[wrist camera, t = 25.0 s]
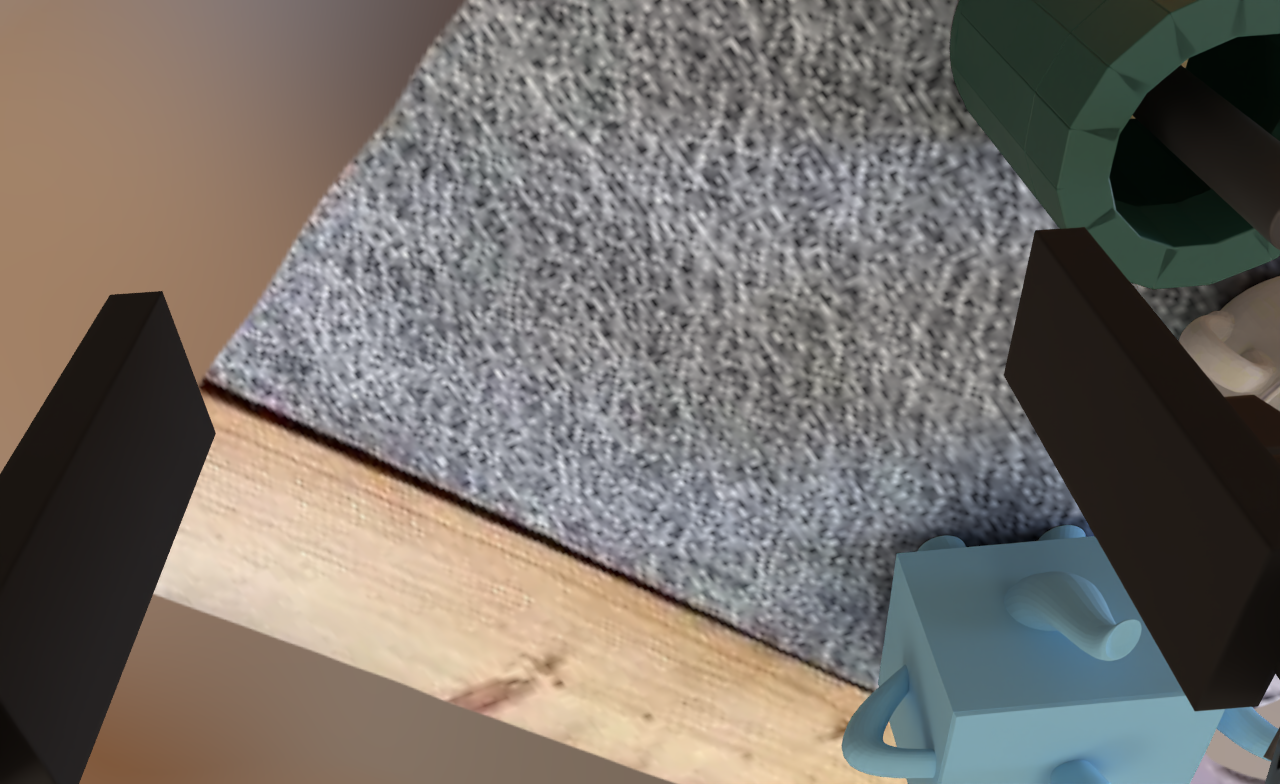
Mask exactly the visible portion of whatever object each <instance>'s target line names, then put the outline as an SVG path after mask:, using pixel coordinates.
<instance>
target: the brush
mask: <svg viewBox="0 0 1280 784" xmlns="http://www.w3.org/2000/svg"><path fill="white" fill-rule="evenodd" d="M1188 59H1189V58H1188ZM1188 59H1187V60H1186V61H1185V62H1184V63H1182V64H1181V65H1180V66H1179V67H1178V68H1176V69H1175V70H1174V71H1173V72H1172V73H1170V74H1169V75H1168V76H1167V77H1166V78H1164V79H1163V80H1162V81H1161V82H1160V83H1159V84H1157V85H1156V86H1155V87H1154V88H1153V89H1151V90H1150V91H1149V92H1148V93H1147V94H1146V95H1145V97H1144V98H1143V100H1142V101H1141V103H1140V104H1139V106H1138V107H1137V109H1136V110H1135V112H1134V113H1133V115H1132V117H1131V118H1130V119H1137V120H1138V121H1139V122H1140V123H1141V124H1142V125H1143V126H1145V127H1146V128H1147V129H1148V130H1149V131H1150V132H1151V133H1152V134H1153V135H1154V136H1155V137H1156V138H1158V139H1159V140H1160V141H1161V142H1162V143H1163V144H1164V145H1165V146H1166V147H1167V148H1168V149H1169V150H1170V151H1172V152H1173V153H1174V154H1175V155H1176V156H1177V157H1178V158H1179V159H1180V160H1181V161H1182V162H1183V163H1184V164H1186V165H1187V166H1188V167H1189V168H1190V169H1191V170H1192V171H1193V172H1194V173H1195V174H1196V175H1197V176H1199V177H1200V178H1201V179H1202V180H1203V181H1204V182H1205V183H1206V184H1207V185H1208V186H1209V187H1210V188H1211V189H1213V190H1214V191H1215V192H1216V193H1217V194H1218V195H1219V196H1220V197H1221V198H1222V199H1223V200H1224V201H1226V202H1227V203H1228V204H1229V205H1230V206H1231V207H1232V208H1233V209H1234V210H1235V211H1236V212H1237V213H1238V214H1240V215H1241V216H1242V217H1243V218H1244V219H1245V220H1246V221H1247V222H1248V223H1249V224H1250V225H1251V226H1253V227H1254V228H1255V229H1256V230H1257V231H1258V232H1259V233H1260V234H1261V235H1262V236H1263V237H1264V238H1265V239H1267V240H1268V241H1269V242H1270V243H1271V244H1272V245H1273V246H1274V247H1275V248H1277V249H1278V250H1280V141H1279V140H1277V139H1276V138H1275V137H1273V136H1272V135H1271V134H1270V133H1268V132H1267V131H1266V130H1264V129H1263V128H1262V127H1260V126H1259V125H1258V124H1257V123H1255V122H1254V121H1253V120H1251V119H1250V118H1249V117H1248V116H1246V115H1245V114H1244V113H1242V112H1241V111H1240V110H1239V109H1237V108H1236V107H1235V106H1233V105H1232V104H1231V103H1230V102H1228V101H1227V100H1226V99H1224V98H1223V97H1222V96H1220V95H1219V94H1218V93H1217V92H1215V91H1214V90H1213V89H1211V88H1210V87H1209V86H1208V85H1206V84H1205V83H1204V82H1202V81H1201V80H1200V79H1199V78H1197V77H1196V76H1195V75H1193V74H1192V73H1191V72H1190V71H1188V70H1187V69H1186V65H1187V62H1188Z"/></svg>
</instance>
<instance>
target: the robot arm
mask: <svg viewBox="0 0 1280 784" xmlns="http://www.w3.org/2000/svg"><path fill="white" fill-rule="evenodd" d="M1004 376H1005V378H1006V380H1007V382H1008V384H1009V385H1010V387H1011V389H1012V391H1013V392H1014V394H1015V396H1016V398H1017V399H1018V401H1019V403H1020V405H1021V406H1022V408H1023V410H1024V412H1025V413H1026V415H1027V417H1028V419H1029V421H1030V422H1031V424H1032V426H1033V428H1034V429H1035V431H1036V433H1037V435H1038V436H1039V438H1040V440H1041V442H1042V443H1043V445H1044V447H1045V449H1046V450H1047V452H1048V454H1049V456H1050V458H1051V459H1052V461H1053V463H1054V465H1055V466H1056V468H1057V470H1058V472H1059V473H1060V475H1061V477H1062V479H1063V480H1064V482H1065V484H1066V486H1067V487H1068V489H1069V491H1070V493H1071V495H1072V496H1073V498H1074V500H1075V502H1076V503H1077V505H1078V507H1079V509H1080V510H1081V512H1082V514H1083V516H1084V517H1085V519H1086V521H1087V523H1088V524H1089V526H1090V528H1091V530H1092V532H1093V533H1094V535H1095V537H1096V539H1097V540H1098V542H1099V544H1100V546H1101V547H1102V549H1103V551H1104V553H1105V554H1106V556H1107V558H1108V560H1109V561H1110V563H1111V565H1112V567H1113V569H1114V570H1115V572H1116V574H1117V576H1118V577H1119V579H1120V581H1121V583H1122V584H1123V586H1124V588H1125V590H1126V591H1127V593H1128V595H1129V597H1130V599H1131V600H1132V602H1133V604H1134V606H1135V607H1136V609H1137V611H1138V613H1139V614H1140V616H1141V618H1142V620H1143V621H1144V623H1145V625H1146V627H1147V628H1148V630H1149V632H1150V634H1151V636H1152V637H1153V639H1154V641H1155V643H1156V644H1157V646H1158V648H1159V650H1160V651H1161V653H1162V655H1163V657H1164V658H1165V660H1166V662H1167V664H1168V665H1169V667H1170V669H1171V671H1172V673H1173V674H1174V676H1175V678H1176V680H1177V681H1178V683H1179V685H1180V687H1181V688H1182V690H1183V692H1184V694H1185V695H1186V697H1187V699H1188V701H1189V702H1190V704H1191V706H1192V708H1193V710H1194V711H1207V710H1219V709H1231V708H1243V707H1255V706H1259V704H1260V702H1261V700H1262V698H1263V696H1264V694H1265V692H1266V690H1267V689H1268V687H1269V685H1270V683H1271V681H1272V679H1273V677H1274V675H1275V673H1276V675H1277V676H1278V678H1279V679H1280V411H1279V410H1277V409H1276V408H1274V407H1273V406H1271V405H1269V404H1268V403H1266V402H1265V401H1263V400H1262V399H1260V398H1258V397H1257V396H1255V395H1241V396H1227V397H1224V396H1223V395H1222V394H1221V392H1220V391H1219V390H1218V389H1217V387H1216V386H1215V385H1214V384H1213V383H1212V381H1211V380H1210V379H1209V378H1208V377H1207V375H1206V374H1205V373H1204V372H1203V370H1202V369H1201V368H1200V367H1199V366H1198V364H1197V363H1196V362H1195V361H1194V359H1193V358H1192V357H1191V356H1190V355H1189V353H1188V352H1187V351H1186V350H1185V349H1184V347H1183V346H1182V345H1181V344H1180V342H1179V341H1178V340H1177V339H1176V338H1175V336H1174V335H1173V334H1172V333H1171V331H1170V330H1169V329H1168V328H1167V327H1166V325H1165V324H1164V323H1163V322H1162V320H1161V319H1160V318H1159V317H1158V316H1157V314H1156V313H1155V312H1154V311H1153V310H1152V308H1151V307H1150V306H1149V305H1148V303H1147V302H1146V301H1145V300H1144V299H1143V297H1142V296H1141V295H1140V294H1139V292H1138V291H1137V290H1136V289H1135V288H1134V286H1133V285H1132V284H1131V283H1130V282H1129V280H1128V279H1127V278H1126V277H1125V275H1124V274H1123V273H1122V272H1121V271H1120V269H1119V268H1118V267H1117V266H1116V264H1115V263H1114V262H1113V261H1112V260H1111V258H1110V257H1109V256H1108V255H1107V254H1106V252H1105V251H1104V250H1103V249H1102V247H1101V246H1100V245H1099V244H1098V243H1097V241H1096V240H1095V239H1094V238H1093V236H1092V235H1091V234H1090V233H1089V232H1088V230H1087V229H1086V228H1085V227H1079V228H1064V229H1050V230H1036V231H1035V233H1034V238H1033V243H1032V247H1031V252H1030V257H1029V261H1028V266H1027V271H1026V275H1025V280H1024V284H1023V289H1022V294H1021V298H1020V303H1019V308H1018V312H1017V317H1016V322H1015V326H1014V331H1013V335H1012V340H1011V345H1010V349H1009V354H1008V359H1007V363H1006V368H1005V373H1004ZM215 434H216V433H215V430H214V427H213V425H212V422H211V419H210V417H209V414H208V411H207V409H206V406H205V403H204V401H203V398H202V395H201V393H200V390H199V388H198V385H197V382H196V380H195V377H194V375H193V372H192V369H191V366H190V364H189V361H188V358H187V356H186V353H185V350H184V348H183V345H182V342H181V340H180V337H179V334H178V332H177V329H176V327H175V324H174V321H173V319H172V316H171V313H170V310H169V308H168V305H167V302H166V300H165V297H164V295H163V292H162V291H158V292H145V293H130V294H115V295H110V296H109V298H108V299H107V301H106V303H105V304H104V306H103V307H102V309H101V310H100V312H99V314H98V315H97V317H96V319H95V320H94V322H93V324H92V325H91V327H90V328H89V330H88V332H87V334H86V335H85V337H84V338H83V340H82V341H81V343H80V345H79V346H78V348H77V350H76V351H75V353H74V355H73V356H72V358H71V360H70V361H69V363H68V364H67V366H66V368H65V369H64V371H63V373H62V374H61V376H60V378H59V379H58V381H57V382H56V384H55V386H54V387H53V389H52V390H51V392H50V394H49V395H48V397H47V399H46V400H45V402H44V404H43V405H42V407H41V408H40V410H39V412H38V413H37V415H36V417H35V418H34V420H33V421H32V423H31V425H30V427H29V428H28V430H27V432H26V433H25V435H24V436H23V438H22V439H21V441H20V443H19V444H18V446H17V448H16V449H15V451H14V453H13V454H12V456H11V457H10V459H9V461H8V462H7V464H6V466H5V467H4V469H3V471H2V472H1V474H0V784H79V782H80V780H81V777H82V774H83V772H84V769H85V767H86V764H87V762H88V759H89V757H90V754H91V751H92V749H93V746H94V744H95V741H96V739H97V736H98V734H99V731H100V728H101V726H102V723H103V721H104V718H105V716H106V713H107V710H108V708H109V705H110V703H111V700H112V698H113V695H114V692H115V690H116V687H117V685H118V682H119V680H120V677H121V674H122V672H123V669H124V667H125V664H126V662H127V659H128V657H129V654H130V652H131V649H132V646H133V644H134V641H135V639H136V636H137V634H138V631H139V629H140V626H141V623H142V621H143V618H144V616H145V613H146V611H147V608H148V605H149V603H150V600H151V598H152V595H153V593H154V590H155V588H156V585H157V582H158V580H159V577H160V575H161V572H162V570H163V567H164V564H165V562H166V559H167V557H168V554H169V552H170V549H171V547H172V544H173V541H174V539H175V536H176V534H177V531H178V529H179V526H180V524H181V521H182V518H183V516H184V513H185V511H186V508H187V506H188V503H189V500H190V498H191V495H192V493H193V490H194V488H195V485H196V483H197V480H198V477H199V475H200V472H201V470H202V467H203V465H204V462H205V459H206V457H207V454H208V452H209V449H210V447H211V444H212V442H213V439H214V436H215ZM1263 757H1264V758H1267V759H1269V760H1271V761H1272V762H1271V765H1270V768H1269V772H1268V775H1267V778H1266V782H1265V784H1280V728H1279V729H1278V731H1277V733H1276V735H1275V737H1274V738H1273V740H1272V742H1271V744H1270V746H1269V747H1268V749H1267V751H1266V753H1265V754H1264V756H1263Z"/></svg>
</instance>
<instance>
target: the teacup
mask: <svg viewBox="0 0 1280 784" xmlns="http://www.w3.org/2000/svg"><path fill="white" fill-rule="evenodd" d="M1179 342H1180V344H1181V345H1182V346H1183V347H1184V349H1185V350H1186V351H1187V352H1188V353H1189V355H1190V356H1191V357H1192V358H1193V359H1194V361H1195V362H1196V363H1197V364H1198V366H1199V367H1200V368H1201V369H1202V370H1203V372H1204V373H1205V374H1206V375H1207V377H1208V378H1209V379H1210V380H1211V381H1212V383H1213V384H1214V385H1215V386H1216V387H1217V389H1218V390H1219V391H1220V392H1221V394H1222V395H1223V396H1224V397H1227V396H1241V395H1255V396H1257V397H1258V398H1260V399H1262V400H1263V401H1265V402H1266V403H1268V404H1269V405H1271V406H1273V407H1274V408H1276V409H1277V410H1279V411H1280V276H1278V277H1275V278H1272V279H1269V280H1266V281H1264V282H1261V283H1259V284H1257V285H1255V286H1253V287H1251V288H1249V289H1247V290H1246V291H1244V292H1242V293H1241V294H1239V295H1238V296H1236V297H1235V298H1234V299H1232V300H1231V301H1230V302H1229V303H1227V304H1226V305H1225V306H1224V307H1223V308H1222V309H1221V310H1220V311H1213V312H1211V313H1209V314H1208V315H1204V316H1201V317H1199V318H1197V319H1195V320H1193V321H1192V322H1191V323H1190V324H1189V325H1188V326H1187V327H1186V328H1185V330H1184V331H1183V332H1182V334H1181V336H1180V339H1179Z"/></svg>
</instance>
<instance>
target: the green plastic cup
mask: <svg viewBox="0 0 1280 784" xmlns="http://www.w3.org/2000/svg"><path fill="white" fill-rule="evenodd" d="M1188 58H1189V59H1188ZM950 59H951V68H952V73H953V77H954V81H955V84H956V86H957V89H958V92H959V94H960V96H961V97H962V99H963V101H964V103H965V106H966V108H967V110H968V112H969V113H970V114H971V115H972V117H973V118H974V119H975V121H976V122H977V123H978V124H979V126H980V127H981V128H982V130H983V131H984V132H985V133H986V135H987V136H988V137H989V138H990V140H991V141H992V142H993V144H994V145H995V146H996V147H997V149H998V150H999V151H1000V153H1001V154H1002V155H1003V156H1004V158H1005V159H1006V160H1007V162H1008V163H1009V164H1010V165H1011V167H1012V168H1013V169H1014V170H1015V172H1016V173H1017V174H1018V176H1019V177H1020V178H1021V179H1022V181H1023V182H1024V183H1025V185H1026V186H1027V187H1028V188H1029V190H1030V191H1031V192H1032V194H1033V195H1034V196H1035V197H1036V199H1037V200H1038V201H1039V203H1040V204H1041V205H1042V206H1043V208H1044V209H1045V210H1046V211H1047V213H1048V214H1049V215H1050V217H1051V218H1052V219H1053V220H1054V222H1055V223H1056V224H1057V226H1058V227H1059V228H1060V229H1064V228H1079V227H1085V228H1086V229H1087V230H1088V232H1089V233H1090V234H1091V235H1092V236H1093V238H1094V239H1095V240H1096V241H1097V243H1098V244H1099V245H1100V246H1101V247H1102V249H1103V250H1104V251H1105V252H1106V254H1107V255H1108V256H1109V257H1110V258H1111V260H1112V261H1113V262H1114V263H1115V264H1116V266H1117V267H1118V268H1119V269H1120V271H1121V272H1122V273H1123V274H1124V275H1125V277H1126V278H1127V279H1128V280H1129V282H1131V283H1134V284H1138V285H1141V286H1144V287H1147V288H1152V289H1164V288H1176V287H1189V286H1202V285H1210V284H1214V283H1216V282H1219V281H1221V280H1224V279H1226V278H1229V277H1231V276H1234V275H1237V274H1239V273H1242V272H1244V271H1247V270H1249V269H1252V268H1255V267H1257V266H1260V265H1262V264H1265V263H1267V262H1270V261H1271V260H1274V259H1276V258H1277V257H1279V256H1280V250H1278V249H1277V248H1275V247H1274V246H1273V245H1272V244H1271V243H1270V242H1269V241H1268V240H1267V239H1265V238H1264V237H1263V236H1262V235H1261V234H1260V233H1259V232H1258V231H1257V230H1256V229H1255V228H1254V227H1253V226H1251V225H1250V224H1249V223H1248V222H1247V221H1246V220H1245V219H1244V218H1243V217H1242V216H1241V215H1240V214H1238V213H1237V212H1236V211H1235V210H1234V209H1233V208H1232V207H1231V206H1230V205H1229V204H1228V203H1227V202H1226V201H1224V200H1223V199H1222V198H1221V197H1220V196H1219V195H1218V194H1217V193H1216V192H1215V191H1214V190H1213V189H1211V188H1210V187H1209V186H1208V185H1207V184H1206V183H1205V182H1204V181H1203V180H1202V179H1201V178H1200V177H1199V176H1197V175H1196V174H1195V173H1194V172H1193V171H1192V170H1191V169H1190V168H1189V167H1188V166H1187V165H1186V164H1184V163H1183V162H1182V161H1181V160H1180V159H1179V158H1178V157H1177V156H1176V155H1175V154H1174V153H1173V152H1172V151H1170V150H1169V149H1168V148H1167V147H1166V146H1165V145H1164V144H1163V143H1162V142H1161V141H1160V140H1159V139H1158V138H1156V137H1155V136H1154V135H1153V134H1152V133H1151V132H1150V131H1149V130H1148V129H1147V128H1146V127H1145V126H1143V125H1142V124H1141V123H1140V122H1139V121H1138V120H1137V119H1130V118H1131V117H1132V115H1133V113H1134V112H1135V110H1136V109H1137V107H1138V106H1139V104H1140V103H1141V101H1142V100H1143V98H1144V97H1145V95H1146V94H1147V93H1148V92H1149V91H1150V90H1151V89H1153V88H1154V87H1155V86H1156V85H1157V84H1159V83H1160V82H1161V81H1162V80H1163V79H1164V78H1166V77H1167V76H1168V75H1169V74H1170V73H1172V72H1173V71H1174V70H1175V69H1176V68H1178V67H1179V66H1180V65H1181V64H1182V63H1184V62H1185V61H1186V60H1187V59H1188V62H1187V65H1186V69H1187V70H1188V71H1190V72H1191V73H1192V74H1193V75H1195V76H1196V77H1197V78H1199V79H1200V80H1201V81H1202V82H1204V83H1205V84H1206V85H1208V86H1209V87H1210V88H1211V89H1213V90H1214V91H1215V92H1217V93H1218V94H1219V95H1220V96H1222V97H1223V98H1224V99H1226V100H1227V101H1228V102H1230V103H1231V104H1232V105H1233V106H1235V107H1236V108H1237V109H1239V110H1240V111H1241V112H1242V113H1244V114H1245V115H1246V116H1248V117H1249V118H1250V119H1251V120H1253V121H1254V122H1255V123H1257V124H1258V125H1259V126H1260V127H1262V128H1263V129H1264V130H1266V131H1267V132H1268V133H1270V134H1271V135H1272V136H1273V137H1275V138H1276V139H1277V140H1279V141H1280V0H959V3H958V6H957V9H956V12H955V15H954V20H953V25H952V30H951V39H950Z"/></svg>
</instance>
